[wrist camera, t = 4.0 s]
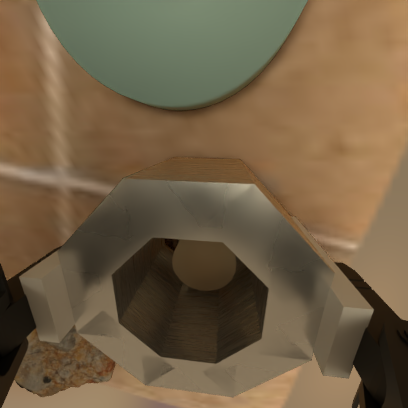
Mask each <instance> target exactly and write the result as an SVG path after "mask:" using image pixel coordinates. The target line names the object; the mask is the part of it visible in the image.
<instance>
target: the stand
mask: <svg viewBox="0 0 408 408" xmlns="http://www.w3.org/2000/svg"><path fill="white" fill-rule="evenodd" d="M178 240H179V243H178V245H177V247H176V249H175V251H174V253H173V257H172V265H173V269H174V271H175V273H176V275H177V276H178V278H179V279H180V280H181V281H182V282H183V283H184V284H186V285H187V286H189V287H191V288H194V289H197V290H202V291H212V290H216V289H219V288H222V287H223V286H225V285H226V284H228V283H229V282H230V281H231V279H232V278H233V276H234V274H235V270H236V255H235V254H234V253H233V252H232V251H231V250H230V249H229V248H228V247H227V246H226V245H225V244H224V243H223V242H212V241H197V240H183V239H178Z"/></svg>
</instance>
